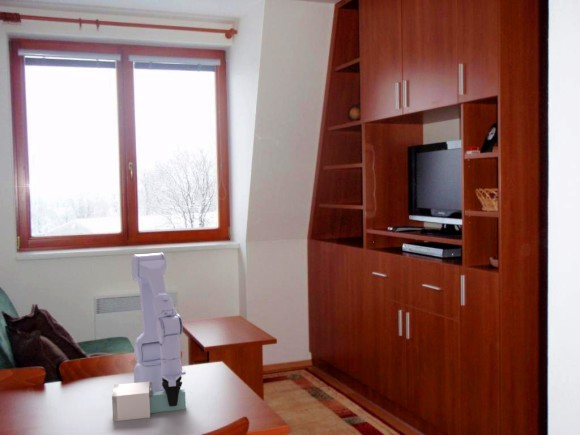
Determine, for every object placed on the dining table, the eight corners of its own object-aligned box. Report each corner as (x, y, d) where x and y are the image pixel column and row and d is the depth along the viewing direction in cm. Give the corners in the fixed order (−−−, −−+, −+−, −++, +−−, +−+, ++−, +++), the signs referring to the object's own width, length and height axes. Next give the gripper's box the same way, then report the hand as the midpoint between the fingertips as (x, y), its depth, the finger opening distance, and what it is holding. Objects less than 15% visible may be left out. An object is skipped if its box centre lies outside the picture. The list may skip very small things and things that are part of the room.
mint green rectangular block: (128, 415, 180) (128, 398, 180) (129, 411, 183) (128, 394, 183) (185, 408, 184) (185, 391, 184) (185, 405, 187) (184, 388, 187)
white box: (113, 421, 176) (111, 396, 176) (115, 408, 187) (114, 384, 187) (153, 417, 178) (152, 392, 178) (153, 404, 189) (152, 381, 189)
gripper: (185, 362, 178) (188, 410, 178) (184, 350, 192) (186, 394, 193) (160, 365, 176) (162, 413, 177) (160, 352, 191) (162, 396, 191)
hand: (173, 403), depth 185 cm, fingers closed on mint green rectangular block, 3 cm apart
